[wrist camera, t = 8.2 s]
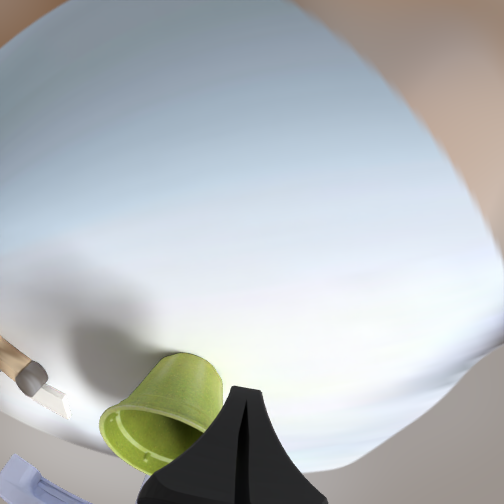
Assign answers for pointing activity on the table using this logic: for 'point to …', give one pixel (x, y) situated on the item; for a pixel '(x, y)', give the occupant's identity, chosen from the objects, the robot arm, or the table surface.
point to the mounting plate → (53, 400)
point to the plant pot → (164, 412)
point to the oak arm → (21, 369)
